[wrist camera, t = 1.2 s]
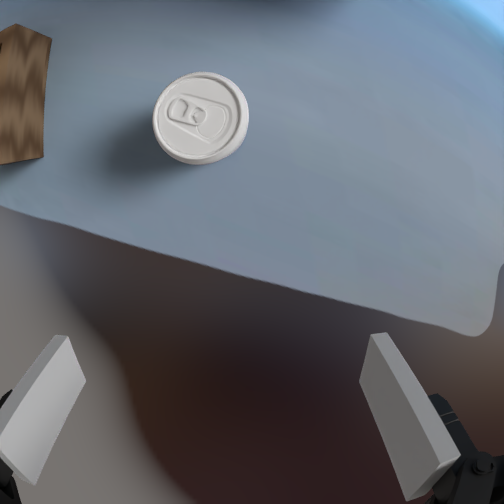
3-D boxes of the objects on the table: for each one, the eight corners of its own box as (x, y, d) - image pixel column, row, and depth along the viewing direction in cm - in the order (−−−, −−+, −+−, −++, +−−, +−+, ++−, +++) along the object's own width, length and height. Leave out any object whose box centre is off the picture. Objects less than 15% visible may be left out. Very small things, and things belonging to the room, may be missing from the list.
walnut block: (10, 55, 26) (-27, 47, 18) (52, 38, 27) (15, 23, 18) (3, 164, 32) (-37, 173, 24) (43, 157, 33) (2, 163, 24)
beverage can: (229, 170, 35) (222, 181, 23) (167, 144, 33) (132, 144, 22) (258, 109, 32) (266, 90, 21) (196, 83, 31) (173, 55, 20)
